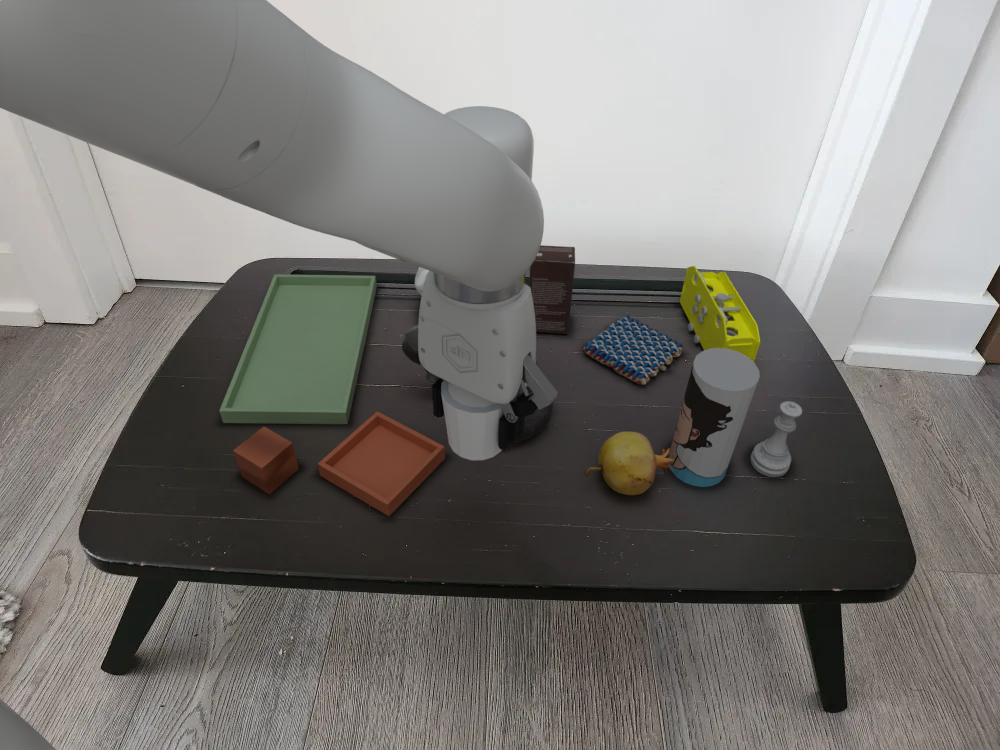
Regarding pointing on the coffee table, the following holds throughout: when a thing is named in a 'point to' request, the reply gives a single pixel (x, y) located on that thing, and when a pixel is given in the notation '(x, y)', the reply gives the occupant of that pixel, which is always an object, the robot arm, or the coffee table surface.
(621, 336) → the woven mat
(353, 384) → the sage tray
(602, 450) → the fruit
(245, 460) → the block
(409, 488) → the terracotta tray
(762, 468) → the chess piece
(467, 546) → the coffee table surface
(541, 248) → the box
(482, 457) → the grey tapered cup
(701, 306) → the yellow toy chassis
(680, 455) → the grey printed cylindrical canister
